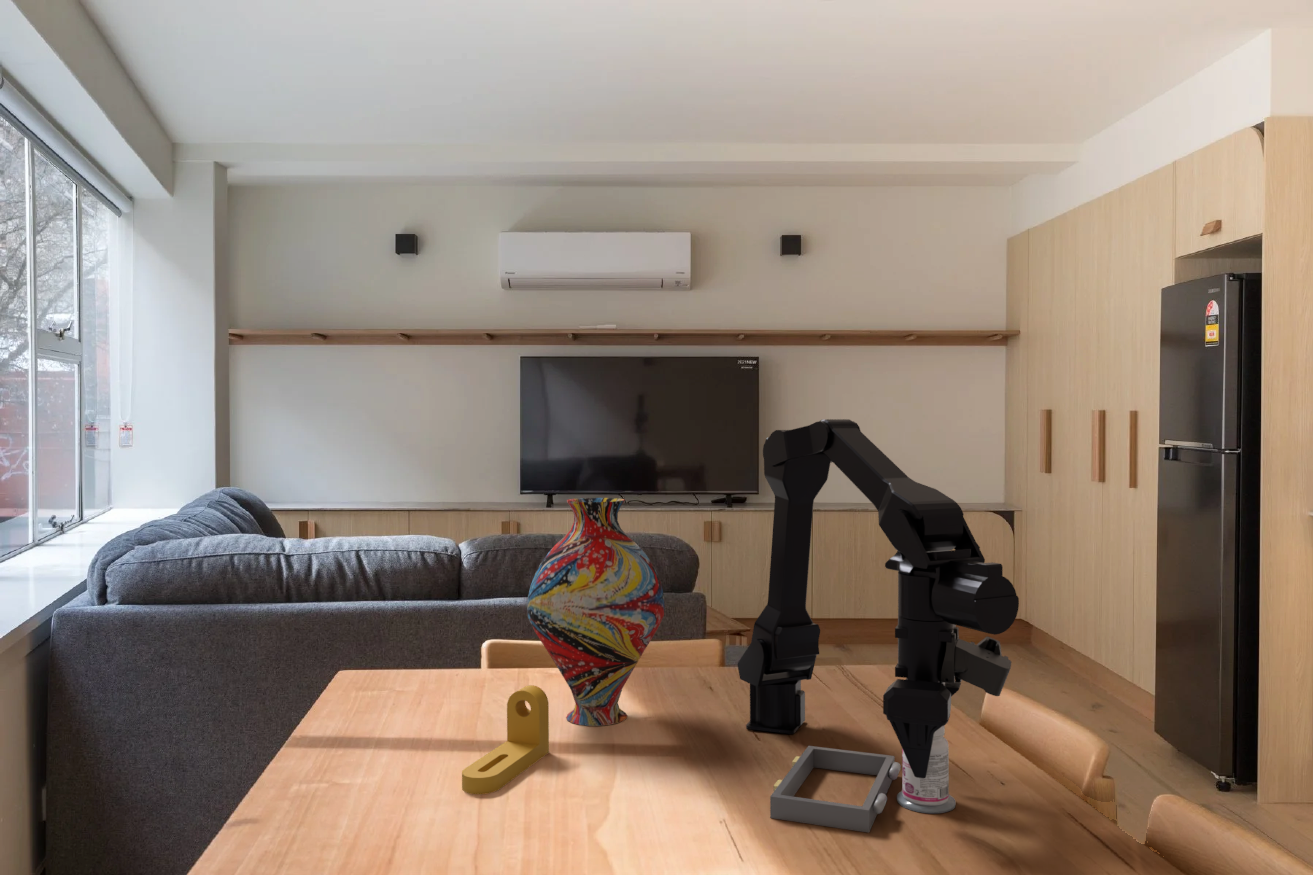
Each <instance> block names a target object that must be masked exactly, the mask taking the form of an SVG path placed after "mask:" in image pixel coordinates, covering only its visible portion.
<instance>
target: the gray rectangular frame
mask: <svg viewBox="0 0 1313 875" xmlns="http://www.w3.org/2000/svg"><path fill="white" fill-rule="evenodd" d="M895 758H896V757H895V755H888V754H881V753H880V754H879V753H873V752H872V753H871V752H864V751H855V750H847V749H841V748H840V749H838V748H831V747H830V748H829V747H821V746H816V745H815V746H813V745H808V746H807V747H806V748H805V750H804V751H803V753H801V755H800V756H797V755H796V756H795V757H794V759H793V760H791V768H790V770H789V771H787V772H788V773H787V774H786V775H785V776H784V778H783V779H777V781H776V782H775V783H774V785H773V792H772V793H771V795H770V798H769V799H770V802H769V805H770V808H769V809H770V810H769V811H770V815H769V816H770V819H776V820H783V821H789V822H795V823H801V824H802V823H803V824H808V825H816V826H821V827H822V826H823V827H830V828H835V829H842V830H848V831H849V830H850V831H856V832H863V833H870V831H871V830H872V826H873V824H874V822H875V821H876V817H877V815H880V814H882V813H883V810H884V808H885V806H886V803H887V801H888V797H887V793H888V791H889V789H890V786H891V784H892V782H893V781H895V780H897V779H898V776H899V773H900V771H901V768H902V766H901V765H902V764H900V762H896V761H895ZM814 768H817V769H823V770H832V771H840V772H847V773H854V774H864V775H871V776H876V777H875V779H874V781H873V783H872V785H871V787H870V790H869V791H868V794H867V795H866V798H865V800H864V802H863V804H862V806H861V805H856V804H848V803H843V802H842V803H841V802H835V801H828V800H820V799H812V798H805V797H800V796H799V797H798V796H795V795H796V793H797V792H798V791H799V789H800V788H801V787H802V785H803V784H804V782H805V781H806V779H807V778H808V776H809V775H810V773H811V771H813V769H814Z"/></svg>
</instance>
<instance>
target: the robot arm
mask: <svg viewBox="0 0 1313 875" xmlns="http://www.w3.org/2000/svg"><path fill="white" fill-rule="evenodd" d="M762 456H763V466H764V468H763V471H764V472H763V473H764V474H763V475H764V477H765V479H766V481H767V483H768V485H769V487H770V489H771V491H772V493H773V495H774V509H773V519H772V520H773V523H772V534H771V535H772V538H771V551H770V565H769V567H770V568H769V581H768V594H767V595H768V597H767V604H766V605H765V607H764V608H763V610H762V611H761V613H760V614H759V616H758V617H757V619H756V620H755V622H754V624H753V629H752V635H751V642H750V644H749V645H748V647H747V648H746V650H745V651H744V653H743V654H742V656H741V657H740V659H739V660H738V661H737V668H738V669H737V670H738V676H739V679H740V681H744V682H746V683H747V684H749V721H748V722H747V723H746V724H745V728H746V729H747V730H752V731H753V730H754V731H763V732H769V733H772V732H773V733H779V734H787V735H789V734H790V735H793V734H796V732H797V731H798V730H799V729H800V727H801V726H802V725H803V723H804V722H805V721H806V691H805V690H803V689H802V681H805V680H806V681H808V680H812V677H813V676H812V675H813V672H814V668H815V664H816V661H817V656H818V655H820V649H819V648H820V647H819V645H820V644H819V642H820V635H821V629H820V628H821V627H820V625H819V624H818V623H814V621H813V620H812V618H811V615H810V614H809V612H808V610H807V595H808V594H807V593H808V582H809V580H808V579H809V571H810V570H809V566H810V554H811V553H810V552H811V541H812V527H813V526H812V524H813V515H814V514H813V513H814V503H815V500H816V499H815V498H817V496H818V494H819V492H820V491H821V490H822V489H823V488H824V485H825V484H826V483H827V481H828V479H829V473H830V467H831V464H832V463H833V464H834V465H835V466H836V468H838V469H839V470H840V471H841V472H842V473H843V474H844V476H845V477H846V478H847V479H848V480H849V481H851V482H852V484H853V485H854V486H855V487H856V488H857V489H858V491H860V492H861V493H862V494H863V495H864V496H865V497H866V499H868V501H869V502H870V503H871V504H872V505H873V506H874V508H875V509H876V510H877V512H878V513H877V514H878V516H877V517H878V525H879V527H880V530H882V532H883V533H884V535H885V537H887V540H888V541H889V542H890V544H891V546H893V548H894V549H895V550H896V553H895V554H894V555H893V556H892V557H890V558H889V559H888V560H886V562H885V563H884V568H885V569H887V570H890V571H896V572H897V578H898V579H897V581H898V582H897V611H898V612H897V625H896V626H895V628H894V638H895V639H897V663H896V665H895V667H894V677H895V678H897V679H896V680H894V681H892V683H891V684H889V685H888V687H887V688H886V690H885V692H884V694H883V695H882V707H883V708H882V710H883V711H882V714H883V715H885V716H886V720H888V721H889V723H890V725H891V727H892V729H893V731H894V733H895V736H896V737H897V740H898V742H899V744H900V746H901V750H902V749H903V751H904V753H905V755H906V758H907V760H908V762H909V765H910V767H911V769H912V772H913V774H914V776H915V777H917V778H926V775H927V770H928V765H929V759H930V754H931V749H932V743H933V738H934V733H935V731H937V730H938V729H939V728H941V727H942V726H944V725H945V726H946V725H947V724H948V722H949V720H950V717H951V707H952V697H953V696H954V695H955V694H956V693H958V691H959V690H960V688H961V684H962V681H964V682H966V683H968V684H970V685H972V686H975V687H978V688H979V689H982V690H984V693H986V694H988V695H991V696H993V697H999V696H1001V693H1002V690H1003V689H1004V686H1005V684H1006V681H1007V679H1008V676H1009V674H1010V671H1011V670H1012V661H1011V659H1009V656H1007V655H1004V656H1003V655H1002V646H1001V641H1000V640H997V639H995V638H994V637H990V636H985V637H984V638H983V639H981V641H979V642H978V643H977V644H975V642H974V641H970V642H969V641H966V640H963V639H961V638H960V636H959V635H960V634H959V629H960V628H959V627H962V628H966V629H968V630H969V629H971V630H974V631H978V632H982V633H985V634H988V635H995V636H996V635H1000V634H1002V633H1005V632H1006V631H1007V630H1009V628H1011V626H1012V625H1013V624H1014V622H1015V620H1016V618H1017V615H1018V612H1019V606H1020V601H1019V600H1020V598H1019V596H1018V595H1017V591H1016V589H1015V586H1014V585H1013V583H1012V582H1011V581H1010V580H1009V579H1008V578H1007V577H1005V576H1003V572H1004V571H1003V570H1004V569H1003V565H1002V563H999V562H992V561H991V562H986V561H985V560H986V559H985V557H984V555H983V553H982V551H981V547H980V545H979V544H978V542H976V539H975V537H974V535H973V532H972V531H971V529H970V528H969V525H968V523H967V521H966V519H965V517H964V512H963V509H962V508H961V506H960V505H959V503H958V502H957V501H955V500H954V499H953V498H951V497H950V496H948V495H946V494H945V493H943V492H941V491H939V490H938V489H936V488H935V487H931V486H928V485H925V484H923V483H919V482H917V481H916V480H914V479H912V478H910V477H909V476H908V475H907V474H906V473H905V472H904V471H902V469H901V468H900V467H898V466H897V464H895V463H894V462H893V461H892V460H891V459H890V458H889V457H888V456H887V455H886V454H885V453H884V452H883V451H882V450H881V449H880V448H879V447H877V446H876V444H874V443H873V441H871V439H869V438H868V437H867V436H866V435H865V434H864V433H863V432H862V431H861V428H860V426H859V424H858V423H857V422H855V421H852V420H851V419H847V418H846V419H845V418H844V419H841V418H840V419H838V418H837V419H831V418H830V419H829V418H828V419H820V420H819V421H815V422H813V423H811V424H808V425H804V426H801V427H797V428H793V429H775V430H774V431H772V432H771V434H770V435H769V437H766V439H765V442H764V443H763V446H762ZM901 678H904V679H901Z"/></svg>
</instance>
